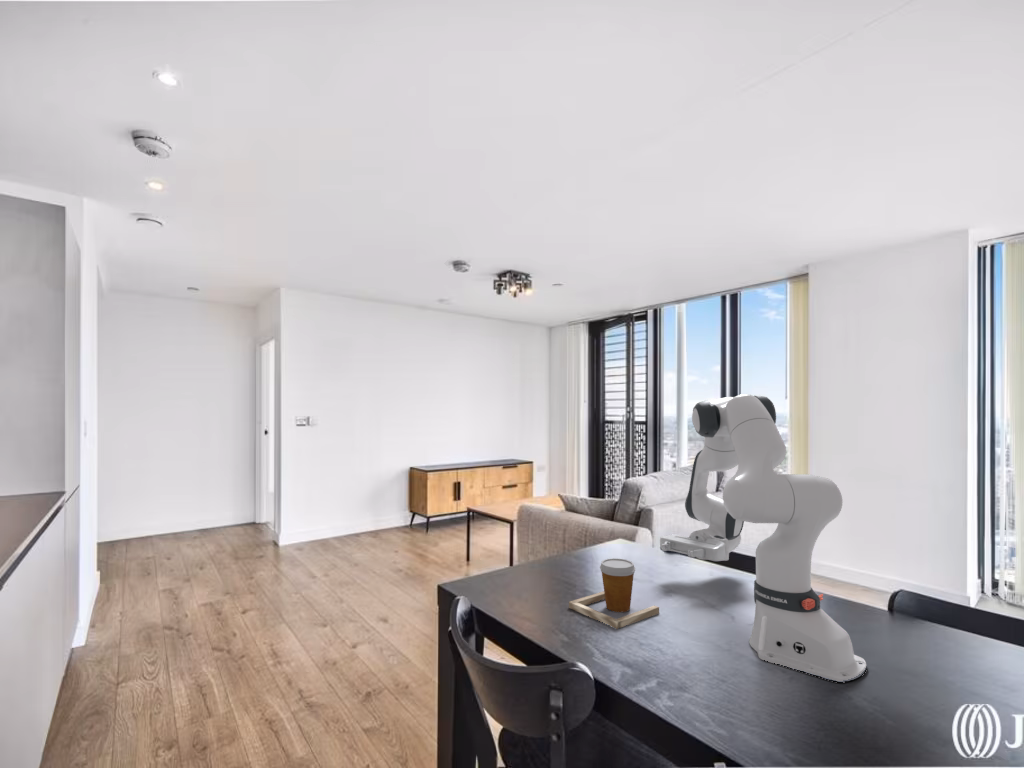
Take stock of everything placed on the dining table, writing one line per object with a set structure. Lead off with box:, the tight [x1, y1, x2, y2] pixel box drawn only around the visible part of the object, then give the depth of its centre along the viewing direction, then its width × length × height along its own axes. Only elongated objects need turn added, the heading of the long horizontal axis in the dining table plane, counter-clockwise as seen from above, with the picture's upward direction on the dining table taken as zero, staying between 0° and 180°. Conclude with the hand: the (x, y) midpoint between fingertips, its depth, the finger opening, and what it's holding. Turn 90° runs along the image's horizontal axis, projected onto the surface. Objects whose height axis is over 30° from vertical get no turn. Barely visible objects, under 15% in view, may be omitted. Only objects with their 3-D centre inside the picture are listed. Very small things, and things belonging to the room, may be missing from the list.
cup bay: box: [568, 590, 660, 630], centre depth 140 cm, size 17×16×2 cm
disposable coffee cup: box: [599, 558, 636, 613], centre depth 142 cm, size 10×10×12 cm
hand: (676, 550), depth 156 cm, fingers open, 8 cm apart
